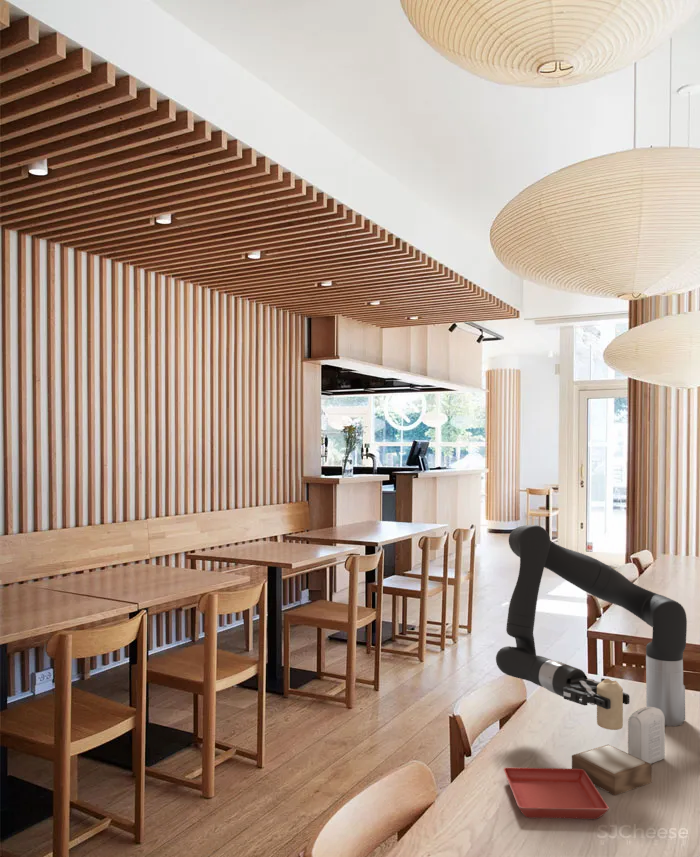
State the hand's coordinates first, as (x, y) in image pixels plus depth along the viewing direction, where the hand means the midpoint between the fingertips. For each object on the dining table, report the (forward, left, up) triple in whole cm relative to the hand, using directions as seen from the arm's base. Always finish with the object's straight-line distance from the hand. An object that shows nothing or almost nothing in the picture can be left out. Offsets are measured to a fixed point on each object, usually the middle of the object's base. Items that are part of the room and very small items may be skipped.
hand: (618, 702), depth 159 cm
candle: (0, -3, -6) cm, 7 cm away
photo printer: (-14, -4, -18) cm, 23 cm away
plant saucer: (+19, -1, -18) cm, 26 cm away
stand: (0, -2, -18) cm, 18 cm away
